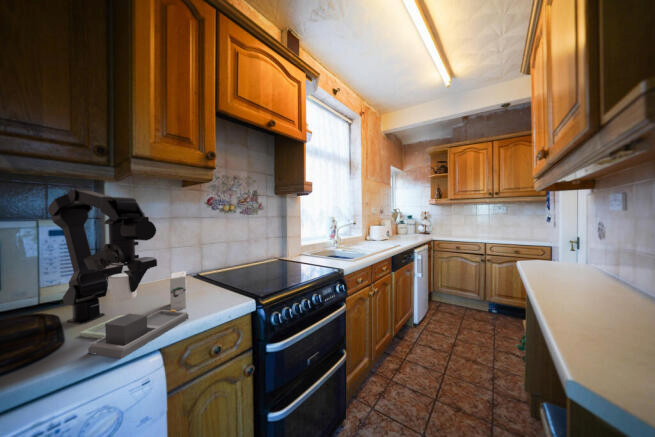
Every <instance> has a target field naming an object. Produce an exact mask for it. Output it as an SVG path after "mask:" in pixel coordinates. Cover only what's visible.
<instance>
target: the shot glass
mask: <svg viewBox="0 0 655 437" xmlns="http://www.w3.org/2000/svg"><path fill="white" fill-rule="evenodd" d="M107 281H109V282H108V286H109V287H108V288H109V292H110V300H111V301H112V302H122V301H123V302H124V301H127V300H131V299H134V298H136V297H137V292H138V288H137V289H136V291H135V292H131V290H130V285H129V276H128V275H127V274H126V273H124V272H122V273H119V274H115V275H111V276H109V277H108V280H107Z"/></svg>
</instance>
